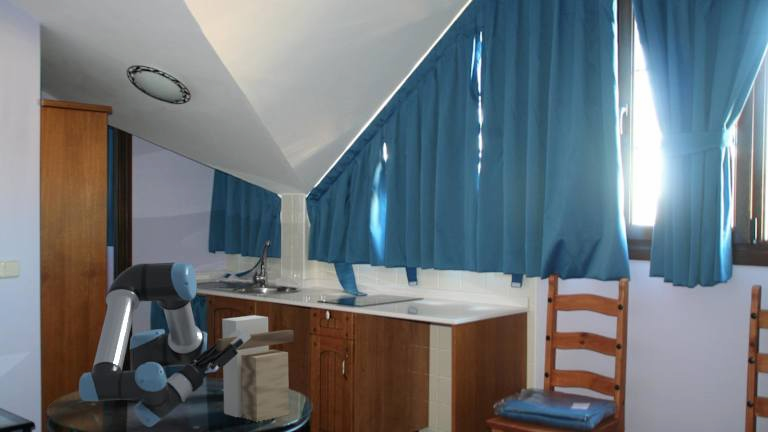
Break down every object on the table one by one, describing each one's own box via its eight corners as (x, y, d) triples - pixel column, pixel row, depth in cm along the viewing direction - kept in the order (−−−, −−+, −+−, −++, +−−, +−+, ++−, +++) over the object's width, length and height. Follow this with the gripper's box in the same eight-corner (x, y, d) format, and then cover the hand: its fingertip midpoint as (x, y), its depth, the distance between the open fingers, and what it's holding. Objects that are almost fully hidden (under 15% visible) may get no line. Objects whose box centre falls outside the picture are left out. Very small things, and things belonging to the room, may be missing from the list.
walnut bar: (216, 351, 218) (216, 339, 218) (287, 340, 236) (286, 329, 236) (222, 352, 215) (222, 340, 216) (293, 341, 234) (293, 330, 234)
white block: (224, 413, 232) (222, 319, 233) (255, 406, 241) (254, 315, 241) (237, 417, 226) (236, 321, 227) (269, 410, 235) (268, 317, 235)
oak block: (242, 417, 226) (241, 354, 227) (274, 410, 235) (273, 349, 235) (257, 422, 221) (255, 357, 221) (289, 414, 229) (287, 352, 229)
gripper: (176, 388, 216) (235, 340, 230) (205, 397, 204) (265, 345, 218) (164, 368, 213) (224, 321, 228) (193, 375, 201) (254, 325, 216)
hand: (244, 333), depth 223 cm, fingers closed on walnut bar, 3 cm apart
